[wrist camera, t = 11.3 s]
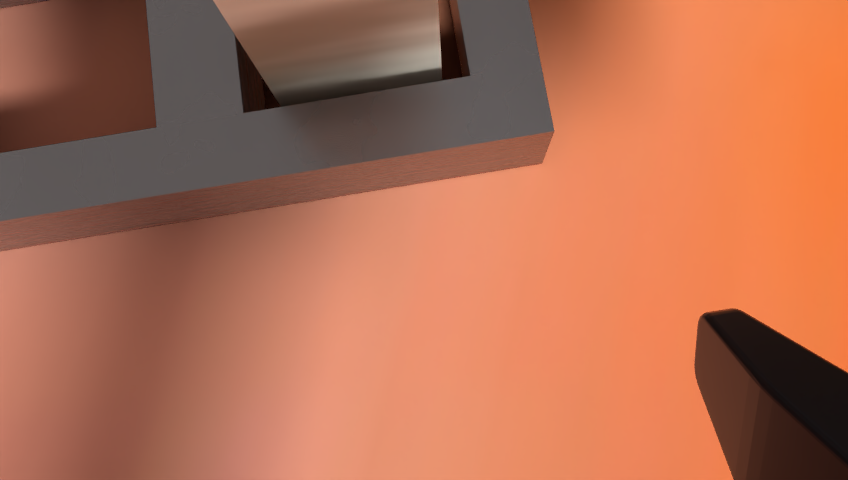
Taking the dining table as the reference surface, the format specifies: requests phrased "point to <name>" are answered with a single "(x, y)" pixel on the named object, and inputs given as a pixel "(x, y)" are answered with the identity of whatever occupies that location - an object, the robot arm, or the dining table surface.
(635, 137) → the dining table surface
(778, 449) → the robot arm
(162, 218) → the grey flat frame
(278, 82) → the square peg
